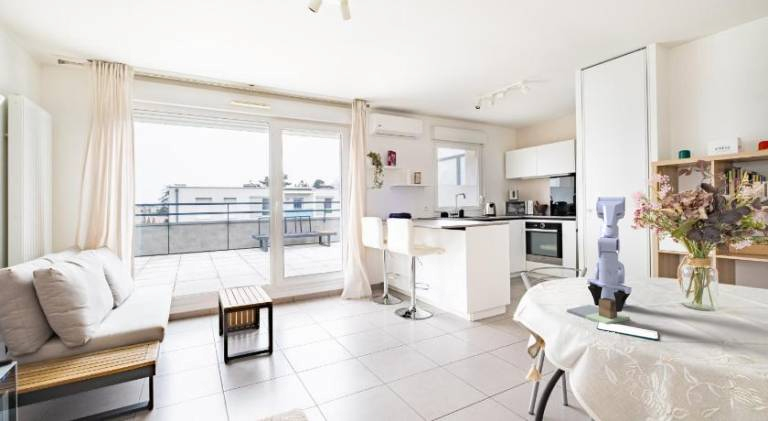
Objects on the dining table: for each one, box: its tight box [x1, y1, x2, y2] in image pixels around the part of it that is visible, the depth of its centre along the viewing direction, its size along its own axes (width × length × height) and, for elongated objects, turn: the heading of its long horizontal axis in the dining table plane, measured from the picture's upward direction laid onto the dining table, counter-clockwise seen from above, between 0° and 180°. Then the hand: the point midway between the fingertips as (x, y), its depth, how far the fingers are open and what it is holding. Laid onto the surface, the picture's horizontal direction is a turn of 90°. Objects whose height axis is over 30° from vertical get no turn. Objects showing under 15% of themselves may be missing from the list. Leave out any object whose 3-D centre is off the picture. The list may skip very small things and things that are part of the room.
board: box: [566, 304, 630, 324], centre depth 125 cm, size 13×15×1 cm
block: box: [598, 298, 618, 319], centre depth 122 cm, size 4×4×6 cm
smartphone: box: [596, 322, 659, 342], centre depth 111 cm, size 8×1×16 cm
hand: (608, 308), depth 122 cm, fingers open, 7 cm apart
